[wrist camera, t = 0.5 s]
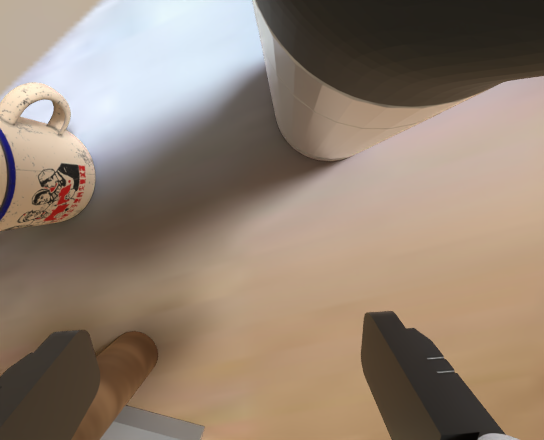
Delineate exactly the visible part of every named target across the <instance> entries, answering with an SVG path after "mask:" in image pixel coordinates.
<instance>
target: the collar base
mask: <svg viewBox="0 0 544 440" xmlns="http://www.w3.org/2000/svg"><path fill="white" fill-rule="evenodd" d="M203 431H204V426H200V425H197V424H193V423H189V422H185V421H182V420H178V419H174V418H171V417H167V416H163V415H160V414H156V413H152V412H148V411H145V410H141V409H137V408H134V407H130V406H126V405H125V407H124V408H123V409H122V411H121V412H120V413H119V415H118V416H117V417H116V419H115V420H114V421H113V423H112V424H111V425H110V427H109V428H108V429H107V431H106V432H105V433H104V435H103V436H102V437H101V439H100V440H201V439H202V435H203Z"/></svg>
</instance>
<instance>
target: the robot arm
mask: <svg viewBox="0 0 544 440" xmlns="http://www.w3.org/2000/svg"><path fill="white" fill-rule="evenodd" d="M252 2H253V7H254V12H255V17H256V22H257V26H258V30H259V35H260V41H261V46H262V51H263V56H264V61H265V66H266V71H267V76H268V81H269V86H270V91H271V97H272V102H273V107H274V112H275V117H276V122H277V124H278V127H279V129H280V132H281V133H282V135H283V136H284V138H285V139H286V141H287V142H288V143H289V144H290V145H291V146H292V147H293V148H294V149H295V150H296V151H298V152H300V153H301V154H303V155H304V156H307V157H310V158H312V159H315V160H322V161H336V160H341V159H345V158H348V157H351V156H353V155H355V154H357V153H359V152H362V151H364V150H366V149H368V148H370V147H372V146H374V145H376V144H378V143H380V142H382V141H384V140H386V139H388V138H390V137H393V136H395V135H397V134H399V133H401V132H403V131H405V130H407V129H409V128H411V127H413V126H415V125H417V124H419V123H421V122H423V121H425V120H427V119H430V118H432V117H434V116H436V115H438V114H440V113H441V112H443V111H445V110H447V109H449V108H451V107H453V106H456V105H458V104H460V103H462V102H464V101H466V100H468V99H470V98H472V97H474V96H476V95H478V94H480V93H482V92H484V91H486V90H488V89H490V88H492V87H494V86H496V85H498V84H500V83H503V82H506V81H510V80H517V79H524V78H531V77H539V76H544V0H252ZM361 362H362V368H363V372H364V375H365V378H366V380H367V383H368V385H369V387H370V390H371V392H372V394H373V397H374V399H375V401H376V404H377V406H378V408H379V411H380V413H381V415H382V418H383V420H384V423H385V425H386V427H387V430H388V432H389V434H390V437H391V439H392V440H519V439H517V438H514V437H511V436H508V435H506V434H505V433H504V432H503V431H502V430H501V428H500V427H499V426H498V424H497V423H496V422H495V421H494V419H493V418H492V417H491V416H490V414H489V413H488V412H487V411H486V409H485V408H484V407H483V405H482V404H481V403H480V402H479V400H478V399H477V398H476V397H475V395H474V394H473V393H472V392H471V390H470V389H469V388H468V386H467V385H466V384H465V383H464V381H463V380H462V379H461V378H460V376H459V375H458V374H457V373H455V372H454V369H453V367H452V366H451V365H450V364H449V362H448V361H447V360H446V359H444V356H443V355H442V353H441V352H440V351H439V350H438V348H437V347H436V346H435V345H434V343H433V342H432V341H431V340H430V339H428V338H427V337H426V336H424V335H423V334H422V333H420V332H419V331H417V330H416V329H415V328H408V329H406V328H405V327H404V325H403V324H402V322H401V321H400V320H399V318H398V317H397V315H396V314H395V313H394V312H393V311H384V312H369V313H366V314H365V316H364V324H363V336H362V348H361ZM99 385H100V370H99V366H98V363H97V359H96V356H95V352H94V349H93V345H92V342H91V339H90V335H89V333H88V332H87V331H85V330H76V331H61V332H54V333H52V334H51V335H50V336H49V337H48V338H47V339H46V340H45V341H44V342H43V343H42V344H41V345H40V346H39V348H38V349H37V350H36V351H35V352H34V353H30V354H29V355H27V356H26V357H24V358H23V359H21V360H20V361H18V362H17V363H16V364H14V365H13V366H11V367H10V368H8V369H7V370H6V371H5V372H4V373H3V375H2V376H1V377H0V440H71V439H72V437H73V436H74V434H75V432H76V430H77V428H78V427H79V425H80V423H81V421H82V420H83V418H84V416H85V414H86V412H87V411H88V409H89V407H90V405H91V404H92V402H93V400H94V398H95V396H96V394H97V392H98V389H99Z"/></svg>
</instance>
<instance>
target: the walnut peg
mask: <svg viewBox="0 0 544 440" xmlns="http://www.w3.org/2000/svg"><path fill="white" fill-rule="evenodd" d="M96 359H97V363H98V366H99V370H100V385H99V389H98V392H97V394H96V396H95V398H94V400H93V402H92V404H91V405H90V407H89V409H88V411H87V412H86V414H85V416H84V418H83V420H82V421H81V423H80V425H79V427H78V428H77V430H76V432H75V434H74V436H73V437H72V439H71V440H100V439H101V437H102V436H103V435H104V433H105V432H106V431H107V429H108V428H109V427H110V425H111V424H112V423H113V421H114V420H115V419H116V417H117V416H118V415H119V413H120V412H121V411H122V409H123V408H124V407H125V405H126V404H127V403H128V401H129V400H130V399H131V397H132V396H133V395H134V393H135V392H136V391H137V389H138V388H139V387H140V385H141V384H142V383H143V381H144V380H145V379H146V377H147V376H148V375H149V373H150V372H151V371H152V369H153V368H154V366H155V365H156V363H157V360H158V351H157V347H156V345H155V343H154V342H153V340H152V339H151V338H150V337H148V336H147V335H145V334H143V333H141V332H136V331H131V332H127V333H124V334H122V335H121V336H119V337H118V338H117V339H116V340H115V341H114V342H113V343H112V344H110V345H109V346H108V347H107V348H106V349H105V350H104V351H102V352H101V353H100V354H99V355H98V356H97V357H96Z"/></svg>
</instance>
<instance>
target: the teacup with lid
mask: <svg viewBox="0 0 544 440" xmlns="http://www.w3.org/2000/svg"><path fill="white" fill-rule="evenodd" d="M43 99H47V100H52V102H53V106H54V111H53V115H52V117H51V119H50V121H49V122H48V124H46V123H42V122H38V121H34V120H31V119H27V118H23V117H20V115H21V114H22V112H23V111H24V110H25V109H26V108H27V107H28V106H29V105H30V104H32V103H34V102H36V101H39V100H43ZM70 117H71V112H70V107H69V105H68V103H67V101H66V100H65V99H64V97H63V96H62V95H60V94H59V93H58V92H57V91H56V90H54V89H53V88H51V87H49V86H47V85H45V84H41V83H26V84H23V85H20V86H18V87H16V88H14V89H13V90H11V91H10V92H9V93H8V94H7V95H6V96H5V97H4V98H3V100H2V101H1V103H0V231H5V230H12V229H18V228H25V227H31V226H38V225H44V224H51V223H57V222H62V221H66V220H68V219H71V218H73V217H74V216H76V215H77V214H79V213H80V212H81V211H82V210H83V209H84V208H85V207H86V205H87V204H88V202H89V201H90V199H91V197H92V194H93V191H94V187H95V169H94V164H93V161H92V158H91V156H90V154H89V152H88V150H87V149H86V147H85V146H84V145H83V143H82V142H81V141H80V140H79V139H78V138H77V137H76V136H74V135H73V134H72V133H70V132H68V131H67V130H66V128H67V126H68V124H69V121H70Z"/></svg>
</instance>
